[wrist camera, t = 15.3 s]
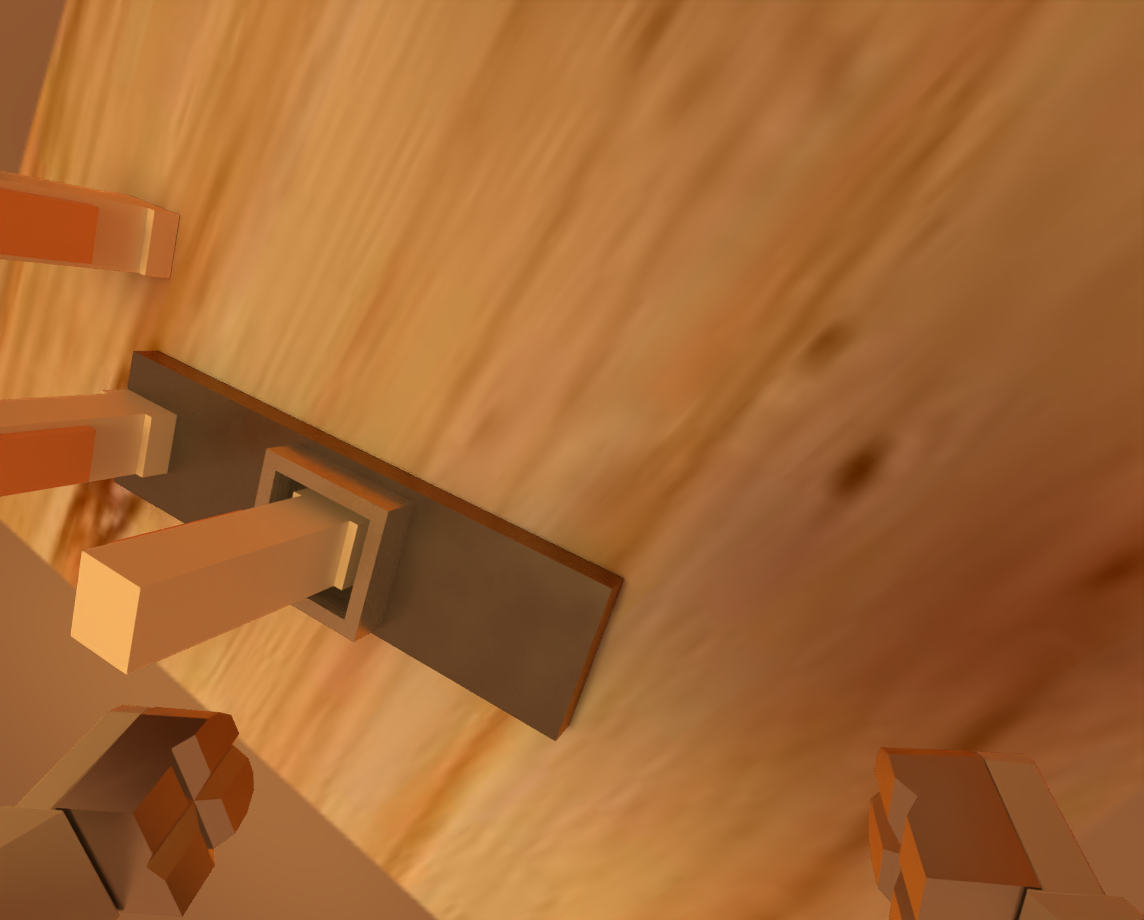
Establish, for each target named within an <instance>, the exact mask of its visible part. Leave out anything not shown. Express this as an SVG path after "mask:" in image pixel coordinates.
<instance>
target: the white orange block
mask: <svg viewBox="0 0 1144 920" xmlns="http://www.w3.org/2000/svg"><path fill="white" fill-rule="evenodd" d="M179 217H180V215H177V214H175V213H172V212H170V211H167V210H165V209H162V208H160V207H157V206H155V205H152V204H150V203H147V202H145V201H142V200H140V199H137V198H135V197H132V196H129V195H124V194H120V193H115V192H110V191H105V190H104V191H99V190H94V189H89V188H84V187H79V186H74V185H69V184H64V183H59V182H54V181H49V180H44V179H39V178H34V177H29V176H24V175H20V174H14V173H9V172H4V171H0V259H5V260H15V261H25V262H35V263H44V264H54V265H64V266H74V267H84V268H93V269H103V270H113V271H123V272H133V273H139V274H142V275H144V276H151V277H161V278H170V274H171V268H172V261H173V255H174V249H175V242H176V236H177V230H178V223H179Z"/></svg>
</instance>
